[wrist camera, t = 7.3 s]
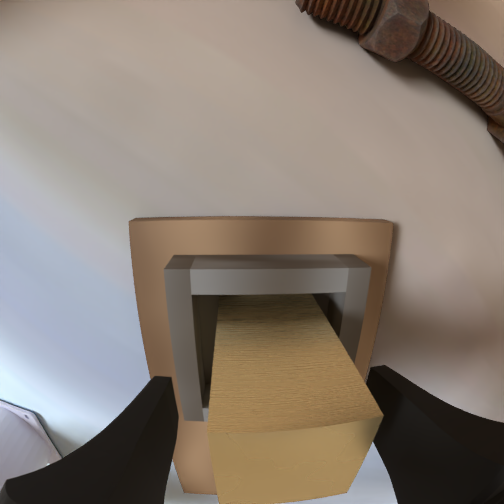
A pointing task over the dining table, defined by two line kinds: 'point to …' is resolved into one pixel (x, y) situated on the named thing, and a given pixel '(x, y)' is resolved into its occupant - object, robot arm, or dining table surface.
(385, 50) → the bolt
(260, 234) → the socket board
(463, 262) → the dining table surface
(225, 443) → the wooden bar
